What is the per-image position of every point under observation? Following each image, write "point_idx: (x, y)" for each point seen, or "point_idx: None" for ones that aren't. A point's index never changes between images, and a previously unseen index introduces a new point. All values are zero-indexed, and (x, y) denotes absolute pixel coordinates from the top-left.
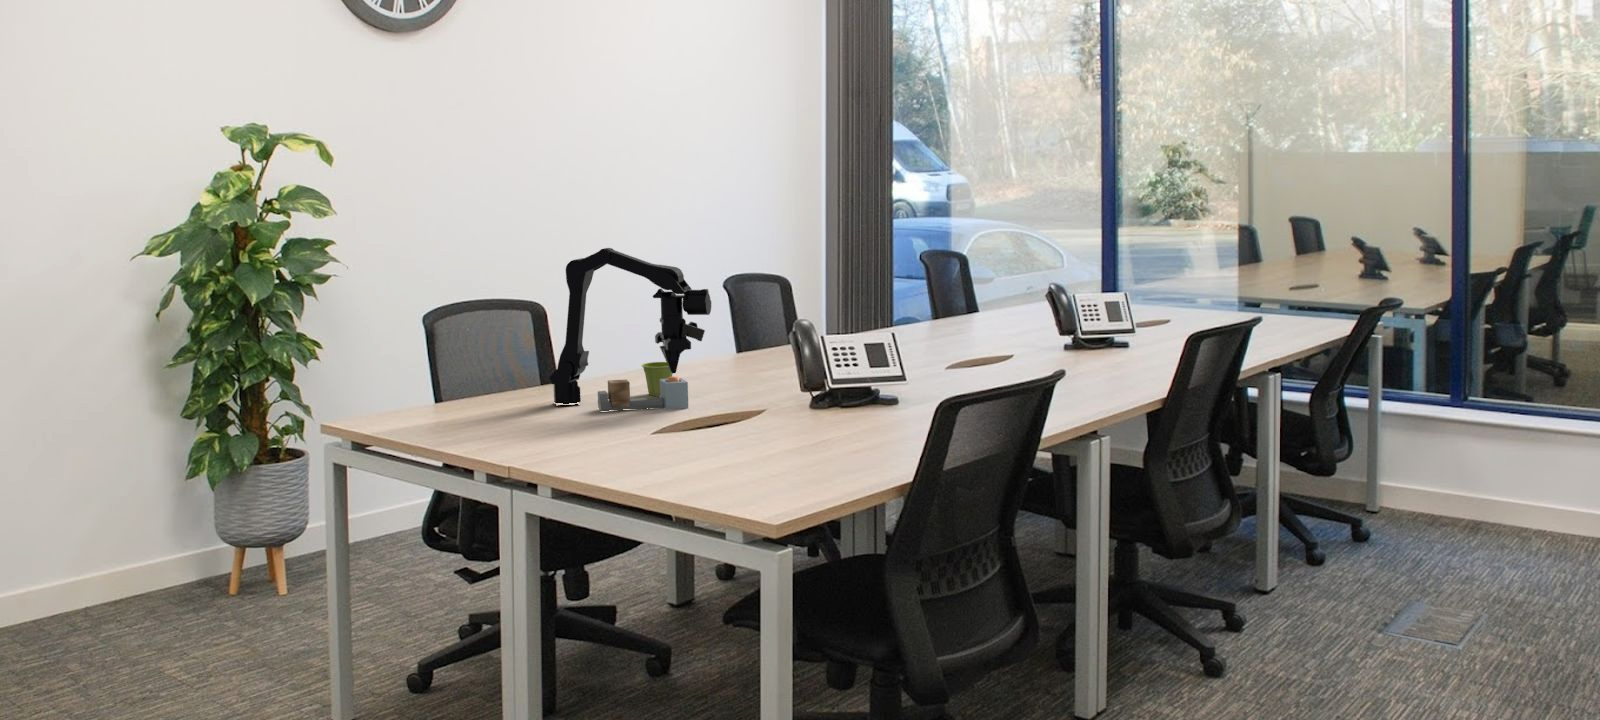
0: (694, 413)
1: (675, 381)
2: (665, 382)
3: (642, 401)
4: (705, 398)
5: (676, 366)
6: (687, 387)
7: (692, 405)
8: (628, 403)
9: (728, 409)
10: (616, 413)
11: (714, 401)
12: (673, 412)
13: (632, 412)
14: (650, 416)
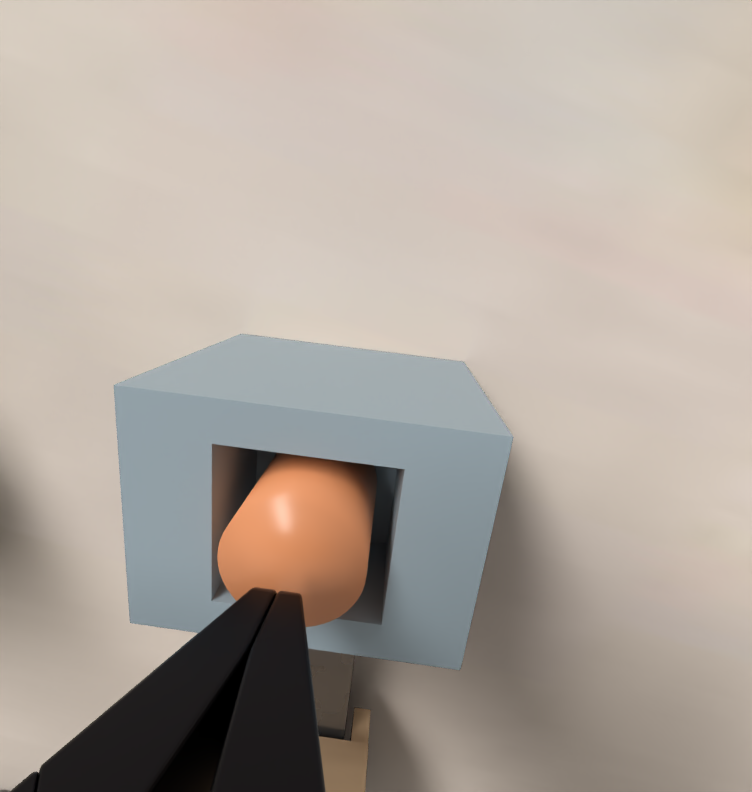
0: (693, 393)
1: (367, 538)
2: (389, 647)
3: (353, 661)
4: (65, 62)
5: (312, 694)
6: (497, 417)
7: (358, 291)
8: (367, 733)
9: (718, 59)
10: (405, 748)
11: (249, 35)
12: (560, 501)
13: (419, 683)
14: (605, 649)
